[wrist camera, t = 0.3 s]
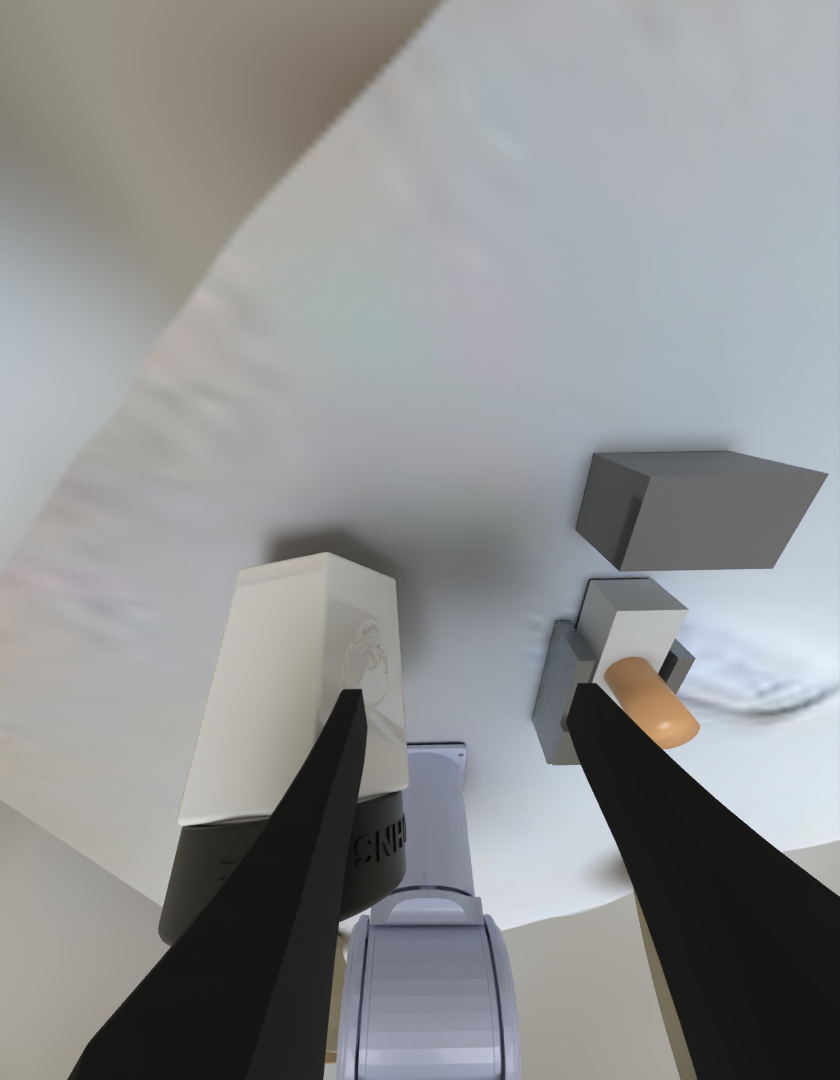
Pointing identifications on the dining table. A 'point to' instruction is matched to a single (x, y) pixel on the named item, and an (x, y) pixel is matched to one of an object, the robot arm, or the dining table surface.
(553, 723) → the sleeve
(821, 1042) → the robot arm
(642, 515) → the dark gray rectangular block
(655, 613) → the slab with tan knob
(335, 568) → the jar
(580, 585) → the dining table surface
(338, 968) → the planter bowl
